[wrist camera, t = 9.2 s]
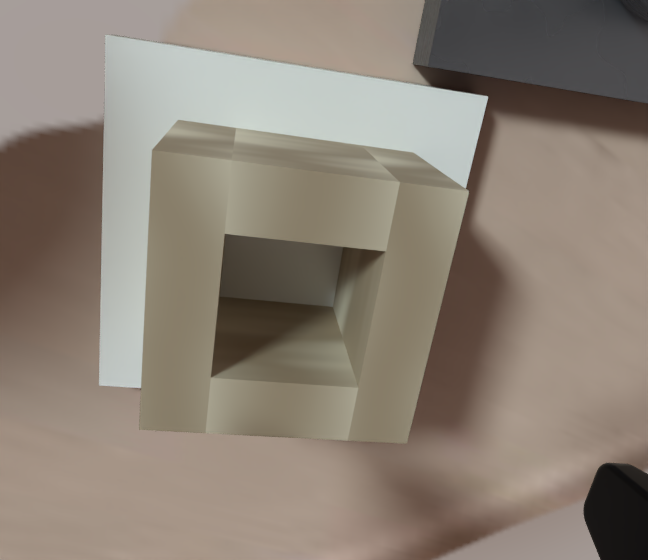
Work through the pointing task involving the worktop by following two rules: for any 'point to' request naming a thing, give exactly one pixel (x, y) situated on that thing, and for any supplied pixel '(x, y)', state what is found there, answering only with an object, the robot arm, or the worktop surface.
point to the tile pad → (253, 114)
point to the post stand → (542, 43)
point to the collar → (291, 318)
